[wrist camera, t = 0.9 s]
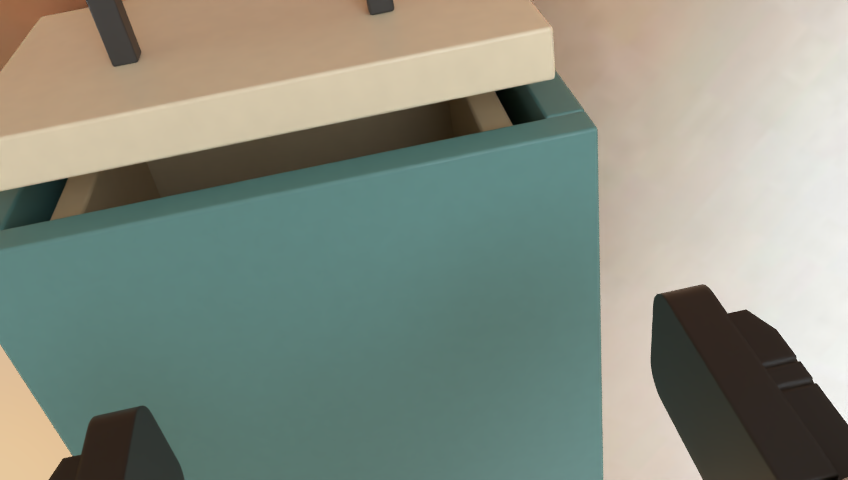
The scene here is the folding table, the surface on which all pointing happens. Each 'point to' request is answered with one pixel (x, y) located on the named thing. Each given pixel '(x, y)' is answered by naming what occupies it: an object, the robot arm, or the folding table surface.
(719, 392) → the robot arm
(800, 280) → the folding table surface
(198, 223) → the cabinet
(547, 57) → the drawer
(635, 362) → the folding table surface
